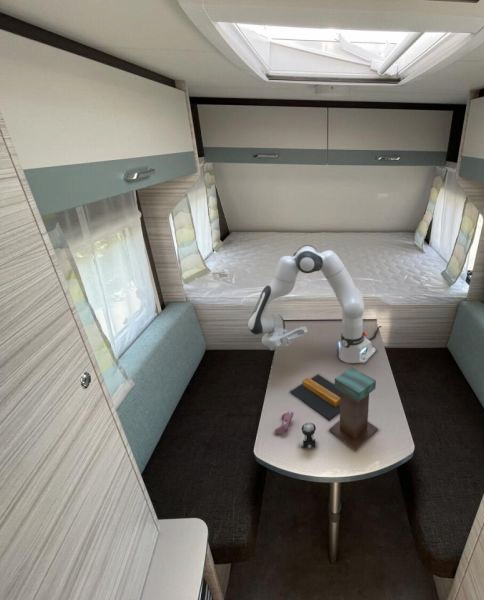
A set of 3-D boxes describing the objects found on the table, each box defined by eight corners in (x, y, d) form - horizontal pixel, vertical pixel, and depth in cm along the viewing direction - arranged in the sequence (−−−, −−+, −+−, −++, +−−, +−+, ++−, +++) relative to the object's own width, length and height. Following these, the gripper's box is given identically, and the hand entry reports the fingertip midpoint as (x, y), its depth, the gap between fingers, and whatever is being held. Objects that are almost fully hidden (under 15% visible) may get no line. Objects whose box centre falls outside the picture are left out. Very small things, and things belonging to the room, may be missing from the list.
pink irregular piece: (283, 438, 132) (289, 428, 128) (273, 433, 132) (279, 422, 128) (290, 420, 140) (297, 410, 137) (281, 415, 140) (287, 405, 137)
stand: (351, 413, 143) (353, 363, 132) (377, 430, 134) (381, 379, 123) (329, 431, 133) (329, 379, 123) (355, 450, 125) (357, 397, 114)
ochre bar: (308, 382, 161) (307, 377, 160) (341, 403, 147) (341, 398, 146) (302, 385, 159) (302, 380, 157) (335, 407, 145) (335, 402, 144)
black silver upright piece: (298, 451, 124) (297, 432, 120) (299, 440, 129) (298, 421, 125) (316, 450, 125) (315, 431, 120) (316, 439, 129) (315, 420, 125)
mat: (317, 375, 167) (317, 374, 167) (356, 399, 150) (356, 398, 150) (290, 392, 155) (290, 391, 155) (329, 420, 139) (329, 419, 138)
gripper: (300, 336, 170) (315, 332, 159) (268, 352, 156) (282, 349, 146) (296, 325, 169) (311, 320, 159) (263, 339, 156) (277, 336, 145)
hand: (297, 334), depth 152 cm, fingers open, 8 cm apart
